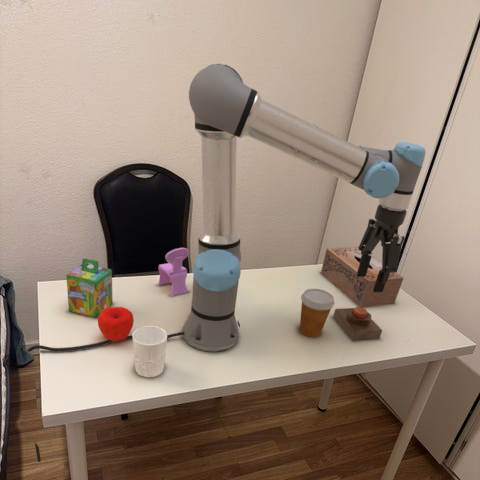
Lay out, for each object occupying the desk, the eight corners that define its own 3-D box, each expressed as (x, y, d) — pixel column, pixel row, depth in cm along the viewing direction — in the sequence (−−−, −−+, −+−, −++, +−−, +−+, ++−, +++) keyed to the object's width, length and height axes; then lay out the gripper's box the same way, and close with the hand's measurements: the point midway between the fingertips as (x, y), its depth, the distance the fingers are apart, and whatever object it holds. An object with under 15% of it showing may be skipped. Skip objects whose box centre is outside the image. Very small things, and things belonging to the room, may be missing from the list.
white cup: (171, 363, 109) (172, 330, 103) (157, 382, 102) (158, 348, 97) (142, 355, 110) (142, 322, 105) (127, 374, 103) (126, 339, 98)
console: (352, 341, 127) (357, 326, 125) (332, 317, 138) (336, 303, 135) (379, 339, 130) (384, 325, 127) (357, 315, 140) (361, 302, 138)
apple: (112, 352, 110) (110, 326, 106) (91, 336, 114) (89, 311, 110) (140, 339, 116) (140, 314, 112) (120, 324, 120) (119, 300, 116)
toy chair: (176, 279, 147) (178, 237, 139) (190, 291, 141) (193, 248, 133) (154, 285, 142) (155, 241, 134) (168, 297, 136) (170, 252, 128)
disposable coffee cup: (324, 325, 133) (333, 290, 127) (327, 342, 125) (336, 306, 119) (294, 320, 133) (301, 285, 127) (294, 337, 125) (302, 301, 119)
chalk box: (68, 311, 123) (63, 264, 115) (85, 297, 130) (81, 251, 123) (98, 319, 121) (95, 271, 114) (114, 303, 129) (112, 258, 121)
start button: (356, 319, 129) (358, 314, 128) (350, 312, 132) (351, 307, 131) (368, 318, 130) (370, 313, 129) (361, 311, 134) (363, 306, 133)
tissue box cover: (394, 303, 151) (403, 277, 145) (360, 307, 145) (368, 280, 140) (352, 270, 170) (358, 246, 165) (320, 272, 165) (326, 248, 160)
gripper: (430, 221, 106) (401, 301, 118) (382, 194, 123) (361, 266, 135) (404, 221, 104) (377, 303, 116) (359, 193, 121) (340, 267, 133)
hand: (369, 283), depth 126 cm, fingers open, 9 cm apart
